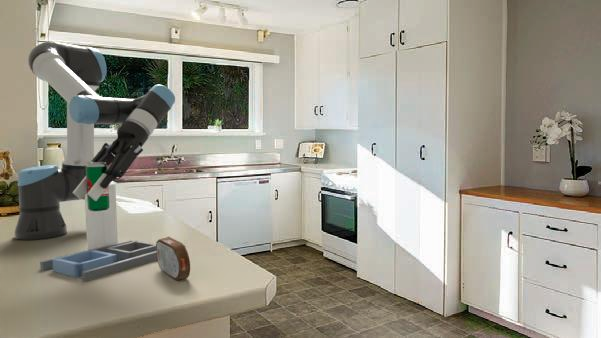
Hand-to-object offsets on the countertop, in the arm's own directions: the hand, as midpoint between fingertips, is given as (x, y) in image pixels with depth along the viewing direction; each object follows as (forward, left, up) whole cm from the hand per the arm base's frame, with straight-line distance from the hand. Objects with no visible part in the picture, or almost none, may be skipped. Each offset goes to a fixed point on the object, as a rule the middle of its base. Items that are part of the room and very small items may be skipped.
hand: (84, 196), depth 106 cm
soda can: (0, +4, -4) cm, 6 cm away
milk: (-16, +15, -18) cm, 28 cm away
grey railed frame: (-1, +7, -18) cm, 19 cm away
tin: (+22, +7, -18) cm, 30 cm away
